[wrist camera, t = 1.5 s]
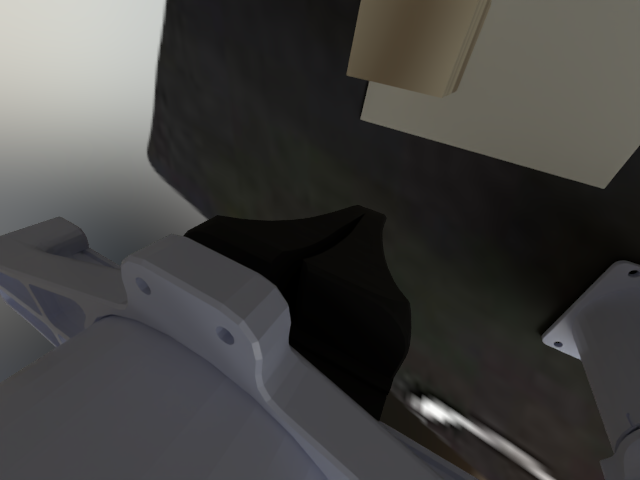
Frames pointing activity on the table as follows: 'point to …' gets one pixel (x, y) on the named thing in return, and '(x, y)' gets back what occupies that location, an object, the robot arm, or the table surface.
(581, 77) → the felt mat
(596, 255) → the table surface
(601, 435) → the table surface
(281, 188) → the table surface
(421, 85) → the birch block
